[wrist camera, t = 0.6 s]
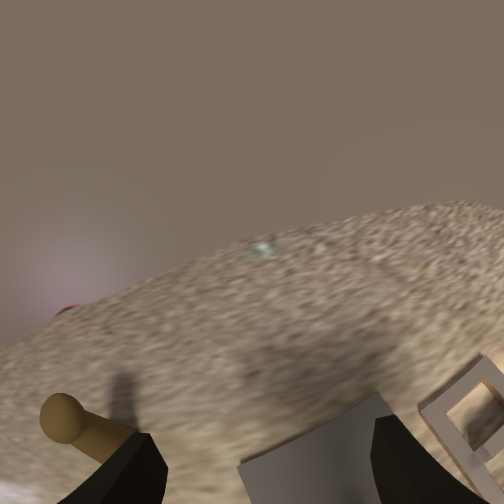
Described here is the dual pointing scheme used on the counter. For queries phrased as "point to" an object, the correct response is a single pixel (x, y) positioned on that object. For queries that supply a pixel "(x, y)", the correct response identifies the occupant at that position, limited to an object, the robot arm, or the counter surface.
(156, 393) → the counter surface
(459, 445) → the double window frame
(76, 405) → the cork
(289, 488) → the plate
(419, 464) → the robot arm
